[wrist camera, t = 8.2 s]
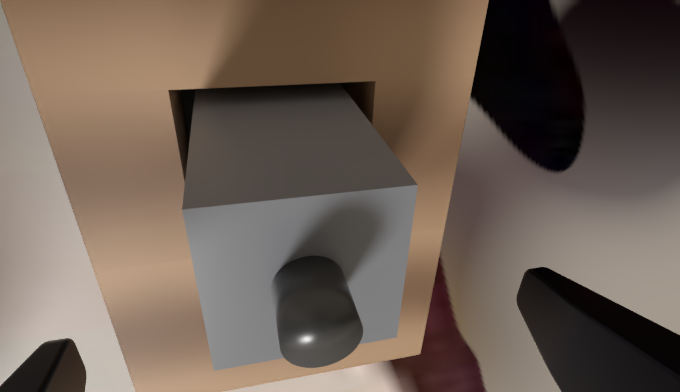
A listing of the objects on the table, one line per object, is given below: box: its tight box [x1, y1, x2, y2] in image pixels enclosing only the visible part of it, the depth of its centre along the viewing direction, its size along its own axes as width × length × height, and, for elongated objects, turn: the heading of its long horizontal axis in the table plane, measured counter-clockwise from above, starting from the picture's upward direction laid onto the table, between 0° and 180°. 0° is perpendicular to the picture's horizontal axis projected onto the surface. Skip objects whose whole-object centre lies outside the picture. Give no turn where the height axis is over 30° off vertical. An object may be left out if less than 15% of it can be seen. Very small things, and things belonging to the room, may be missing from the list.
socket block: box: [0, 0, 489, 392], centre depth 15 cm, size 20×12×4 cm, turn 178°
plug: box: [182, 83, 418, 371], centre depth 12 cm, size 4×4×10 cm
